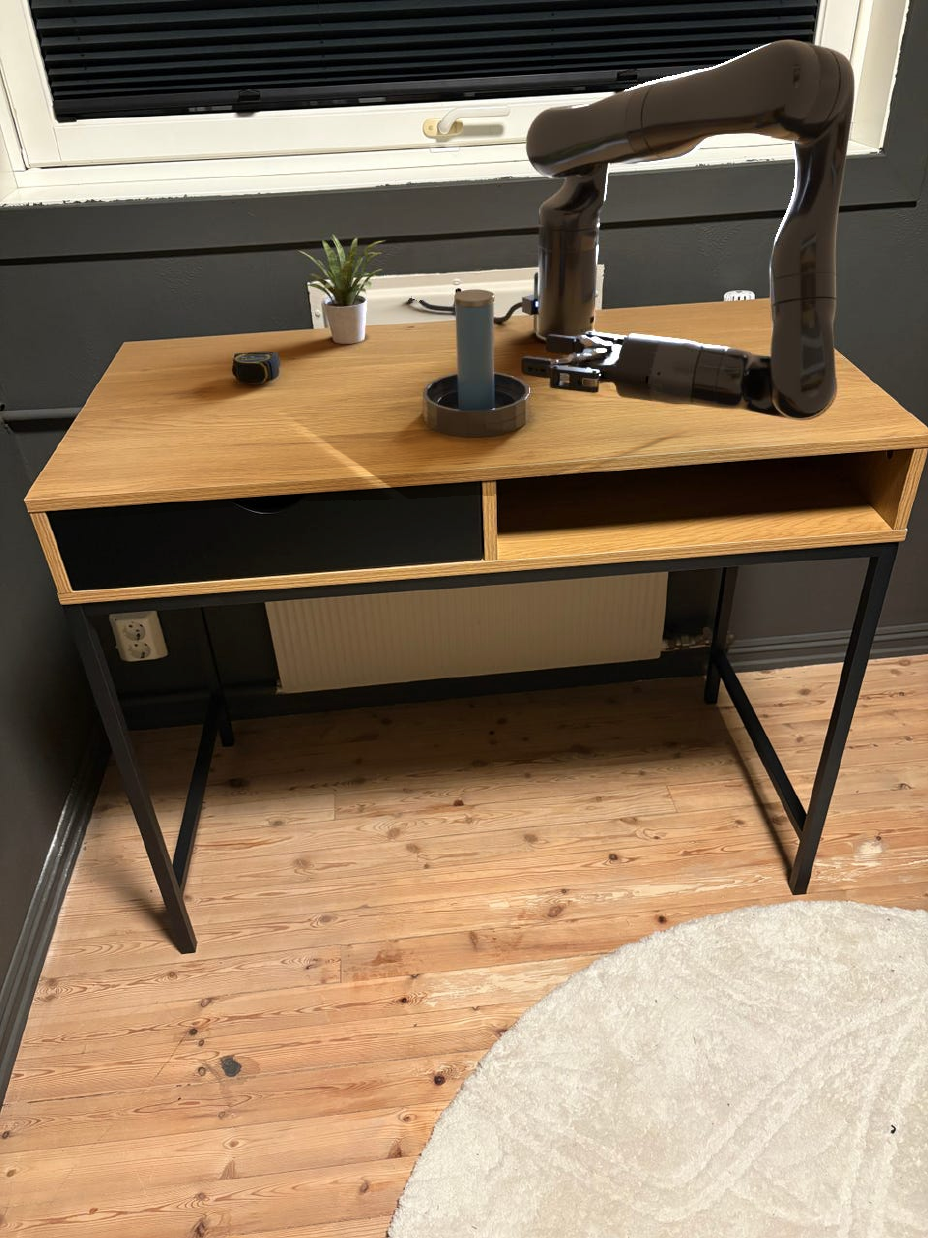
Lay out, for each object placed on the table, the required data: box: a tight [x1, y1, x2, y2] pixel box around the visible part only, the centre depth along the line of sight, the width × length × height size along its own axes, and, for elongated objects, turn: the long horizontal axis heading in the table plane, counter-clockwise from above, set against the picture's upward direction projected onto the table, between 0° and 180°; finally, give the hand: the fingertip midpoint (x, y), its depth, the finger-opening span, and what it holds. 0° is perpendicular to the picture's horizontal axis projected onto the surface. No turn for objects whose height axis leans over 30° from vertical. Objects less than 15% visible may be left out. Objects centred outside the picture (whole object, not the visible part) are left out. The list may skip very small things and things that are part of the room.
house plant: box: [298, 233, 387, 345], centre depth 150 cm, size 14×14×16 cm
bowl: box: [421, 371, 531, 438], centre depth 126 cm, size 14×14×4 cm
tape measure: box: [231, 351, 281, 385], centre depth 140 cm, size 7×7×4 cm
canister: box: [453, 288, 495, 410], centre depth 122 cm, size 5×5×16 cm
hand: (534, 353), depth 118 cm, fingers open, 8 cm apart
